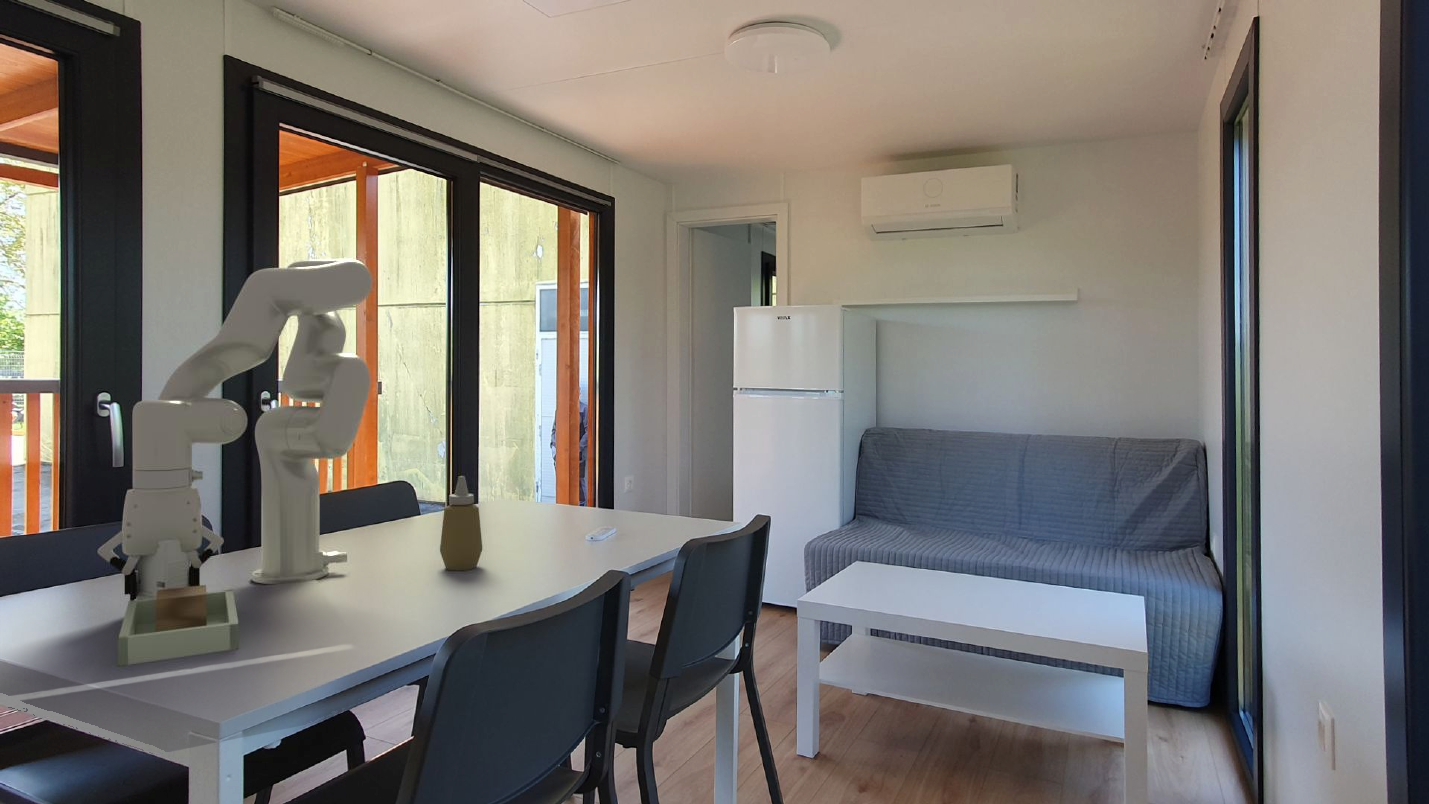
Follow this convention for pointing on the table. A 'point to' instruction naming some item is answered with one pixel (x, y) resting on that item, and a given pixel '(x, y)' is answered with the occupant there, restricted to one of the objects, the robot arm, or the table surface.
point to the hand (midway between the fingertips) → (163, 594)
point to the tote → (177, 632)
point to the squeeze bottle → (461, 530)
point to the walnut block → (181, 608)
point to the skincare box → (162, 570)
